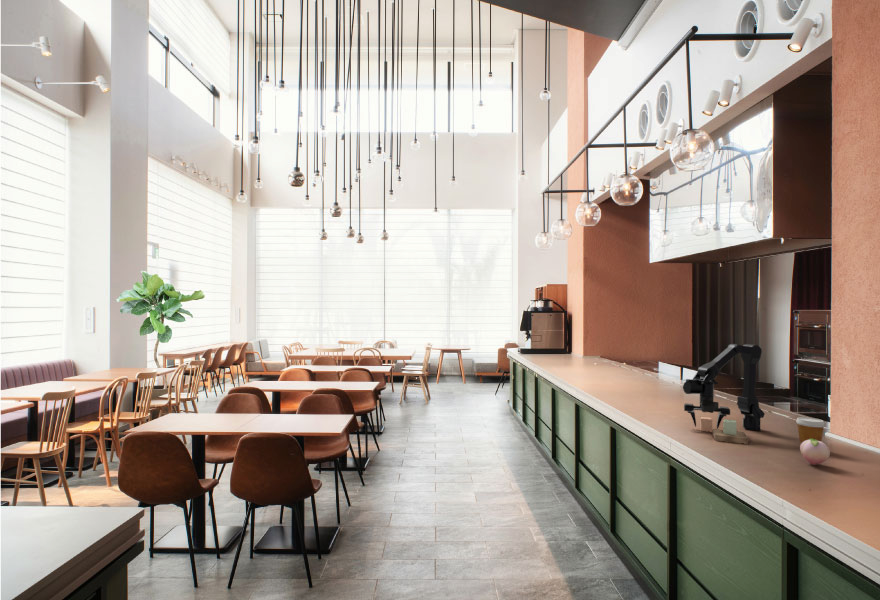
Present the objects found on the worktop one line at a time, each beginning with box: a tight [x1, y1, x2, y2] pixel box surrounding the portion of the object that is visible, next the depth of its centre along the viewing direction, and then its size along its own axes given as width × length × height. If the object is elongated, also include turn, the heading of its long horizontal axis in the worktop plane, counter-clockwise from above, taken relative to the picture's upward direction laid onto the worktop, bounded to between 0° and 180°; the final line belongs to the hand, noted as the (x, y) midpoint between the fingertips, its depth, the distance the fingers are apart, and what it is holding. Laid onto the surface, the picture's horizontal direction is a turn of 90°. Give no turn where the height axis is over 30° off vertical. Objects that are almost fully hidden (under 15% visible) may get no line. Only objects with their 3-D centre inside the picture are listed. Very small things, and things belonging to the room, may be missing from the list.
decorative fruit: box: [799, 437, 831, 466], centre depth 182 cm, size 9×8×10 cm
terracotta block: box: [699, 416, 713, 433], centre depth 233 cm, size 4×4×6 cm
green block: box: [722, 418, 738, 435], centre depth 217 cm, size 4×4×6 cm
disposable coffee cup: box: [795, 416, 826, 445], centre depth 203 cm, size 10×10×12 cm
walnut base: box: [712, 428, 749, 445], centre depth 217 cm, size 12×12×2 cm
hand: (706, 427), depth 233 cm, fingers open, 9 cm apart
